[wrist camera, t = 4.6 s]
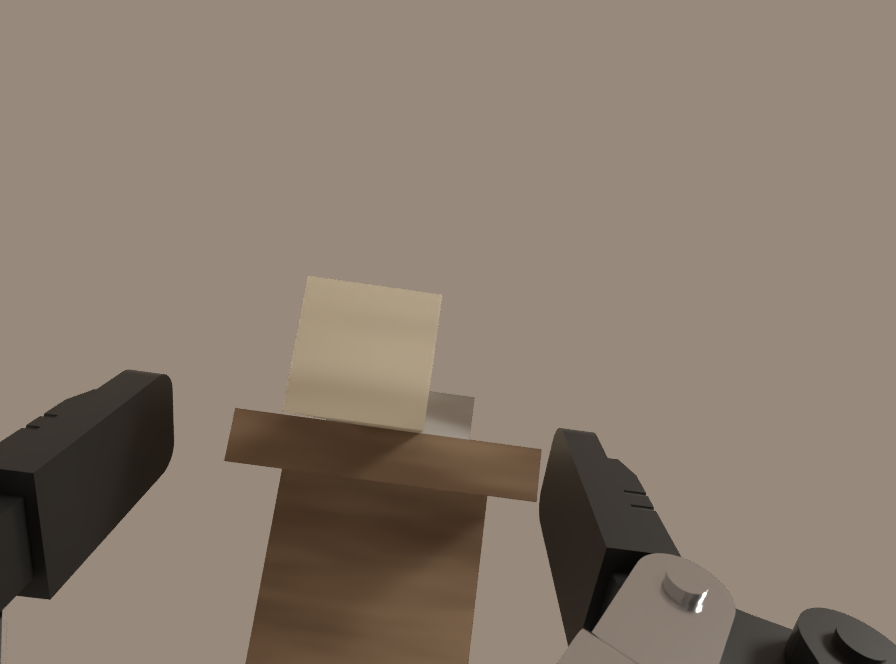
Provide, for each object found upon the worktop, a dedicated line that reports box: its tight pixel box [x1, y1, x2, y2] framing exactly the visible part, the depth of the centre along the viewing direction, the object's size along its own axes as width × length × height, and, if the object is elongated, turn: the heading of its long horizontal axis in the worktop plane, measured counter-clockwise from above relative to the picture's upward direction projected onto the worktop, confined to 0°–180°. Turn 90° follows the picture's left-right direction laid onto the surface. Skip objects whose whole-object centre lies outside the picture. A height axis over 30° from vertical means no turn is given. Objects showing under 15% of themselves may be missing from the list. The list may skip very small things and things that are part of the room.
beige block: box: [282, 276, 474, 440], centre depth 21 cm, size 24×8×2 cm, turn 3°
